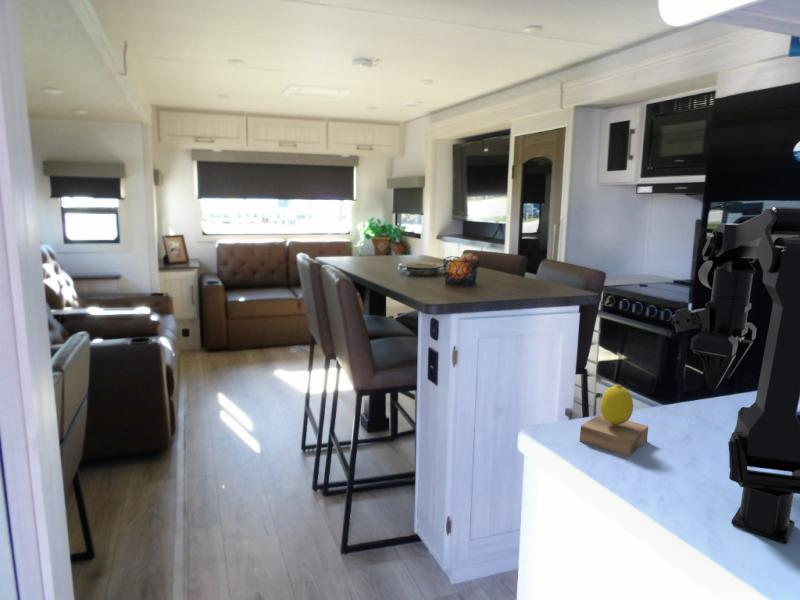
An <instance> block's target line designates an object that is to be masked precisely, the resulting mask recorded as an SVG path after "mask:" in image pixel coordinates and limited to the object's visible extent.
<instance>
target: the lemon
mask: <svg viewBox="0 0 800 600" xmlns="http://www.w3.org/2000/svg"><path fill="white" fill-rule="evenodd" d="M633 402H634V401H633V396H632V394H631V393H630V391H629V390H627V389H626V388H625V387H624V386H622V385H621V384H616V385H613V386H610V387H609V388H606V390H605V391H604V393H603V394H602V397H601V401H600V411H601V412H600V413H602V415H603V416H604V418H605V419H606V420H607V421H608V422H610V423H611V424H612V425H613V426H618V425H619V424H623V423H625V422H626V421H630V418H631V417H632V414H633V411H634V403H633Z"/></svg>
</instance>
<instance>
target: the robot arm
mask: <svg viewBox="0 0 800 600" xmlns="http://www.w3.org/2000/svg"><path fill="white" fill-rule="evenodd" d="M701 252H702V259H703V261H705V262H703V264H701V265H700V268H699V269H698V279H699V281H700V282H701V284H702V285H703V286H705V287H706V288H709V289H710V290H711V296H710V300H709V301H707V302H705V305H704V307H703V308H698V309H692V310H690V309H689V308H688V307H685V308H681V309H676V310H675V313H674V314H673V315H672V316H671V318H672V320H671V325H672V326H674V328H675V331H676V333H683V332H685V331H688V330H694V329H699V328H700V329H701V332H699V333H696V334H695V335H694V336H692V337H691V339H690V347H689V349H690V350H692V352H693V353H694V354H696V355H697V356H698V357H699V358H701V360H702V362H703V367H704V372H705V377H706V383H707V388H708V389H709V390H712V391H716V389H717V388H718V386H719V385H720V383H721V382H722V380H723V378H724V379H730V377H731V376H732V374H733V373H734V372H735V370H736V369H737V366H738V365H739V363H741V361H742V360H743V358H744V356H746V353H747V352H748V350H749V348H750V347H751V346H752V344H753V342H754V340H755V339H756V338H757V336H756V335H757V327H756V325H754V324H753V323H752V322H748V321H747V319H748V315H749V311H750V310H751V309H752V303H751V302H750V298H751V291H752V284H753V277H754V274H755V273H756V269H755V267H754V266H753V263H755V262H756V261H757V260H758V262H759V264H760V267H761V269H762V271H763V272H762V273H763V274H762V283H763V284H764V287H765V288H766V290H767V292H768V294H769V296H770V298H771V300H772V306H771V307H772V308H771V314H770V320H769V325H768V329H767V335H766V340H765V346H764V351H763V352H764V354H763V358H762V363H761V368H760V374H759V380H758V385H757V391H756V395H755V402H753V403H752V404H751V405H750V406H748V407H747V406H742V407H740V409H739V410H738V412H737V420H736V425H735V428H734V431H733V432H732V433H731V436H730V438H729V440H728V445H727V446H728V454H729V458H728V459H729V460H728V461H729V463H728V464H729V465H728V467H729V476H728V478H729V480H730V481H732V482H735V483H737V484H738V485H739V487H740V488H742V494H741V500H740V506H739V507H738V508H737V511H736V513H735V514H734V516H733V517H732V519H731V525H732V526H735V527H738V528H740V529H742V530H746V531H749V532H752V533H754V534H758V535H760V536H764V537H766V538H769V539H772V540H774V541H777V542H778V543H779V542H780V543H783V544H788V542H789V540H790V537H791V535H792V533H793V531H794V527H795V524H796V523H795V521H794V520H792V519H791V513H792V507H793V500H794V494H798V495H800V420H799V419H798V418H799V417H798V415H797V414H798V408H799V404H800V403H799V402H800V207H796V206H795V207H793V206H792V207H791V206H772V207H770V208H765V209H764V211H763V212H762V213H761V214H758V215H757V216H754V217H752V218H750V219H747V220H746V221H744V222H742V223H722V222H721V223H719V224H717V226H716V228H715V229H713V230H712V232H711V234H710V235H709V236H708V238H707V241H706V243H705V244H704V246H703V249H702V251H701ZM751 263H752V264H751ZM745 338H748V339H745ZM748 468H757V469H766V470H772V471H779V472H780V471H781V472H782V471H783V472H789V473H791V474H785V473H784V474H783V473H777V472H776V473H775V472H769V471H760V470H752V469H748Z"/></svg>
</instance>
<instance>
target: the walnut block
mask: <svg viewBox="0 0 800 600" xmlns="http://www.w3.org/2000/svg"><path fill="white" fill-rule="evenodd" d="M579 432H580V434H579V442H582V443H585V444H587V445H591V446H594V447H597V448H600V449H602V450H606V451H610V452H612V453H616V454H620V455H622V456H625V457H630V456H631V455H632V454H634V453H635V452H636V451H637V450H638V449H640V448H641V447H642V446H643V445H645V444H646V443H647V441H648V434H649V433H648V432H649V425H644V424H643V423H642V424H641V423H638V422H634V421H631V420H628V421H626V422H625V423H623V424H619V425H618V426H613V425H612V424H611V423H610V422H608V421H607V420H606V419H605V418H604V416H603V415H602V412H600V413H599V414H597V415H596V416H594V417H593V418H591V419H590V420H588V421H586V422H585V423H583V424H582V425H580V431H579Z"/></svg>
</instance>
